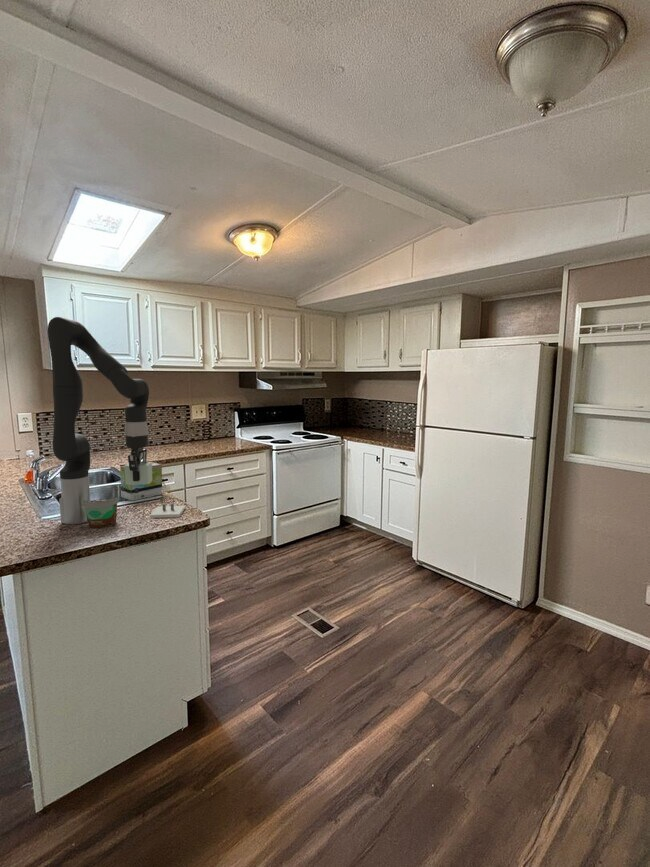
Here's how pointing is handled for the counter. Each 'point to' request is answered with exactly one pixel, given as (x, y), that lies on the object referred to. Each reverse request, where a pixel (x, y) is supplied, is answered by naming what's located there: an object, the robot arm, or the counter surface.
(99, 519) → the food container
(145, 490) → the tea box
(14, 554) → the counter surface
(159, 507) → the stub plate
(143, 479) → the block
